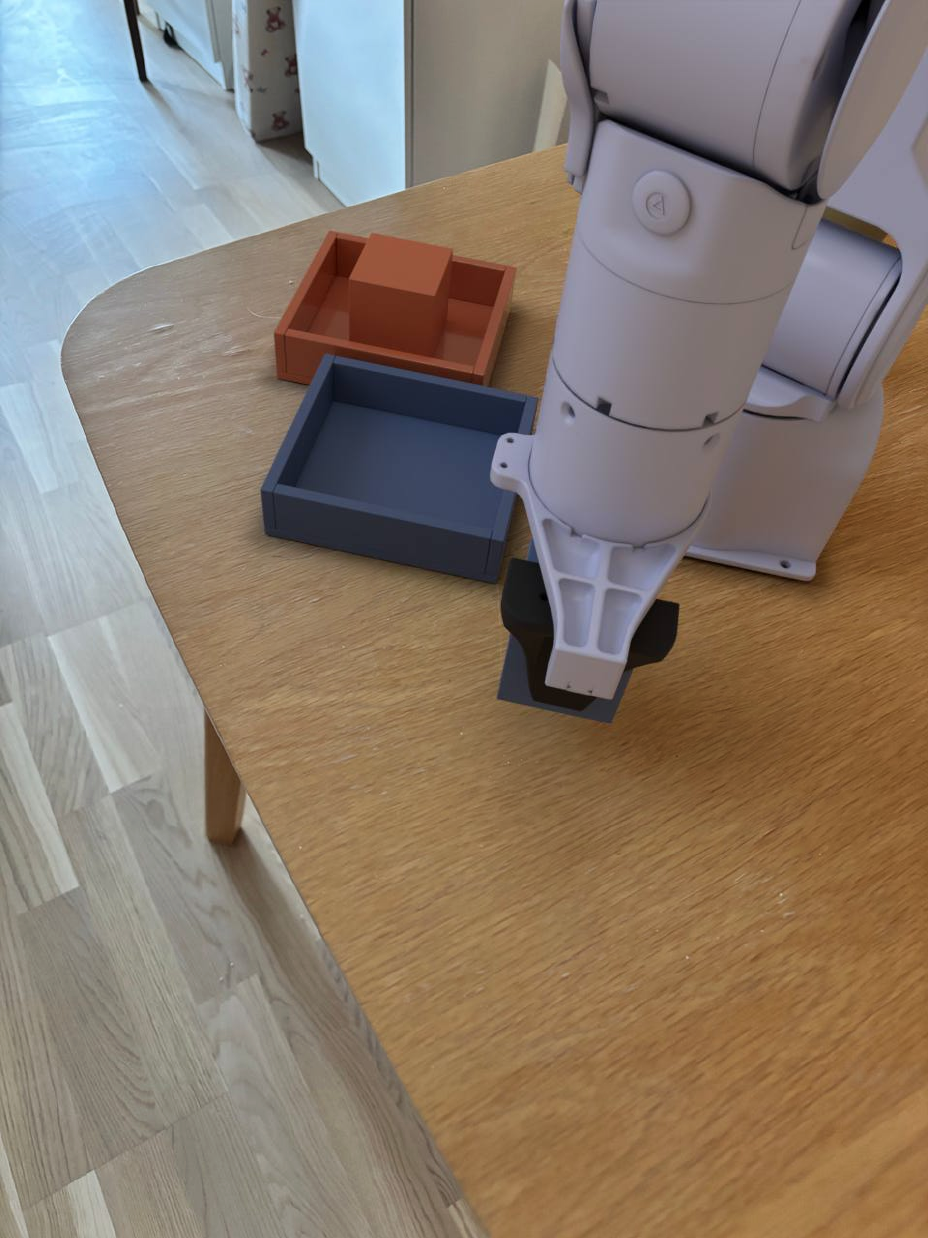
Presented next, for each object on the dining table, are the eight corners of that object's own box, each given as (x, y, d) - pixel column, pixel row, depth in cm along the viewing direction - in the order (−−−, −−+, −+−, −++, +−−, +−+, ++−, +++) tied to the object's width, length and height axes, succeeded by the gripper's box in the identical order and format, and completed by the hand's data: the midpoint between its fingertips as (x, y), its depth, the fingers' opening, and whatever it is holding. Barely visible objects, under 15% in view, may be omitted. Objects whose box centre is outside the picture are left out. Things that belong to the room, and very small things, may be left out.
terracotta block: (446, 319, 57) (453, 248, 53) (429, 368, 54) (435, 295, 50) (369, 304, 57) (371, 231, 53) (348, 351, 54) (348, 278, 50)
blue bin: (530, 441, 52) (539, 396, 49) (496, 584, 45) (504, 541, 43) (325, 398, 52) (324, 352, 50) (264, 534, 46) (259, 489, 44)
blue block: (623, 633, 41) (649, 561, 37) (611, 725, 38) (638, 657, 34) (515, 610, 41) (531, 536, 37) (495, 699, 38) (510, 630, 34)
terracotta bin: (510, 311, 59) (517, 266, 56) (478, 420, 52) (484, 375, 50) (329, 275, 59) (328, 229, 57) (276, 378, 53) (273, 332, 50)
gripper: (549, 205, 32) (500, 495, 43) (461, 514, 23) (428, 782, 34) (761, 246, 32) (658, 528, 43) (753, 576, 23) (626, 827, 34)
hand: (568, 644), depth 38 cm, fingers closed on blue block, 4 cm apart
